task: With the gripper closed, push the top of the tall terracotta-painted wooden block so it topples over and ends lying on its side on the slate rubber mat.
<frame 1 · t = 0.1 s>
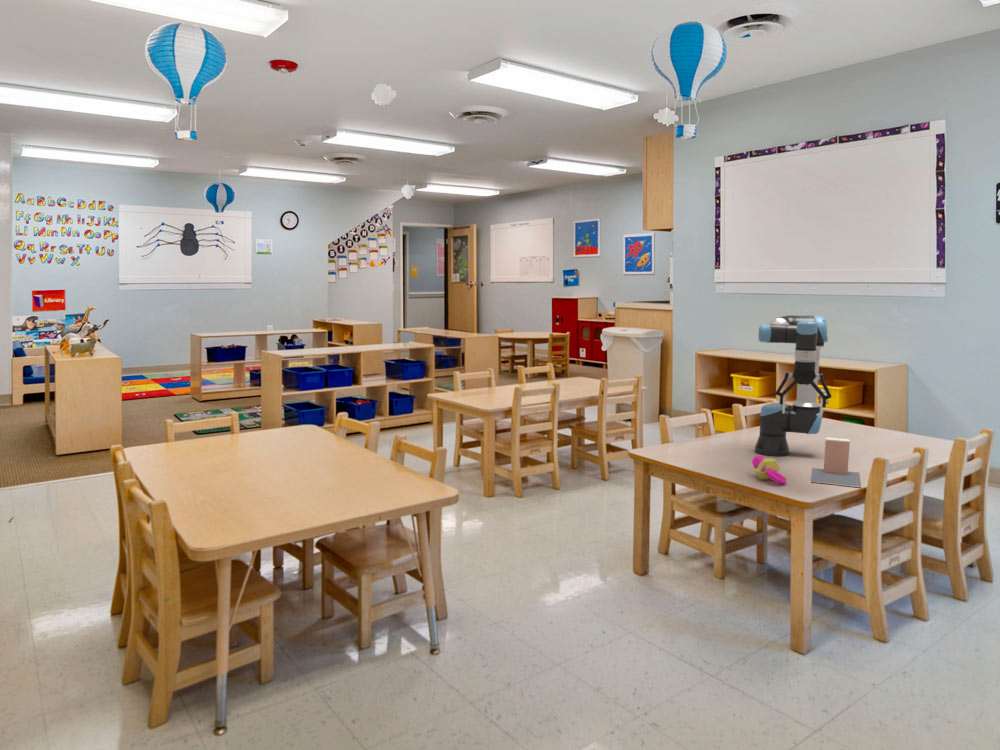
hand: (801, 414, 276), 28 cm above the table, fingers open, 13 cm apart
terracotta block: (835, 471, 293), point 1 cm above the table, touching slate mat
toy: (767, 480, 284), on the table
slate mat: (835, 478, 286), on the table
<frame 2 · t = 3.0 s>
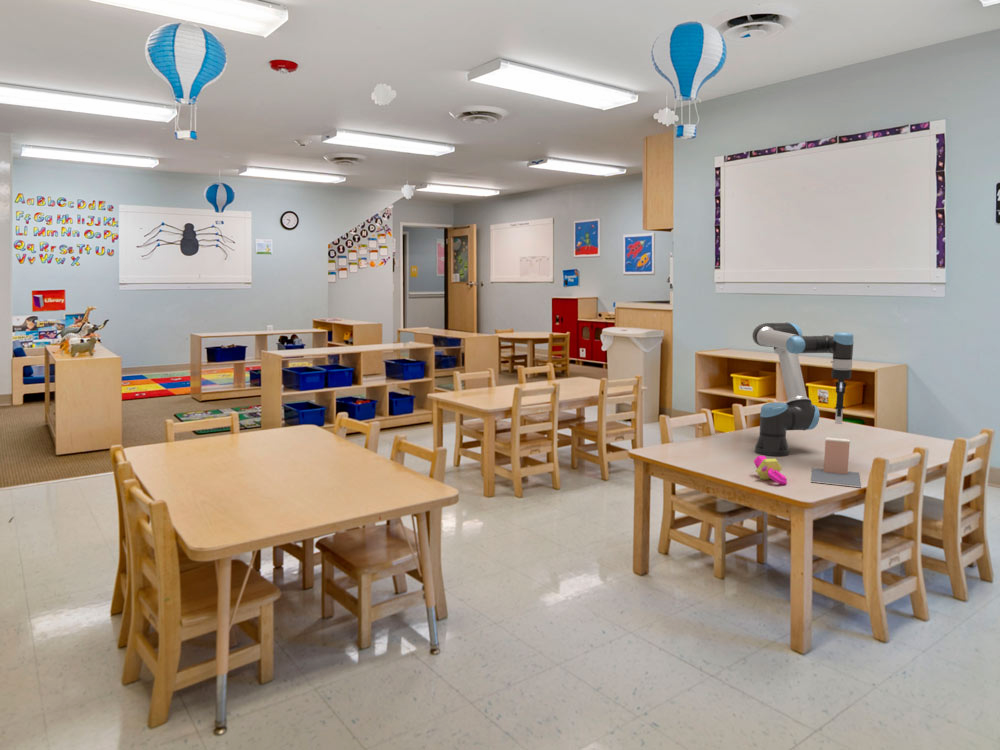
hand: (838, 423, 299), 20 cm above the table, fingers closed
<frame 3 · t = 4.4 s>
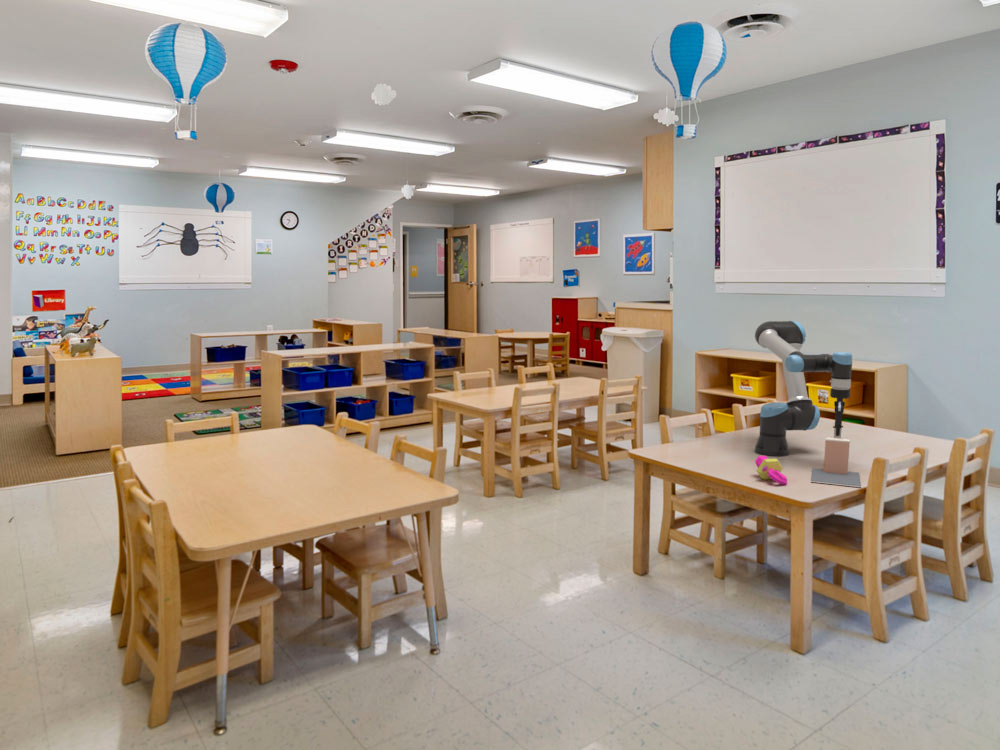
hand: (837, 442, 300), 11 cm above the table, fingers closed
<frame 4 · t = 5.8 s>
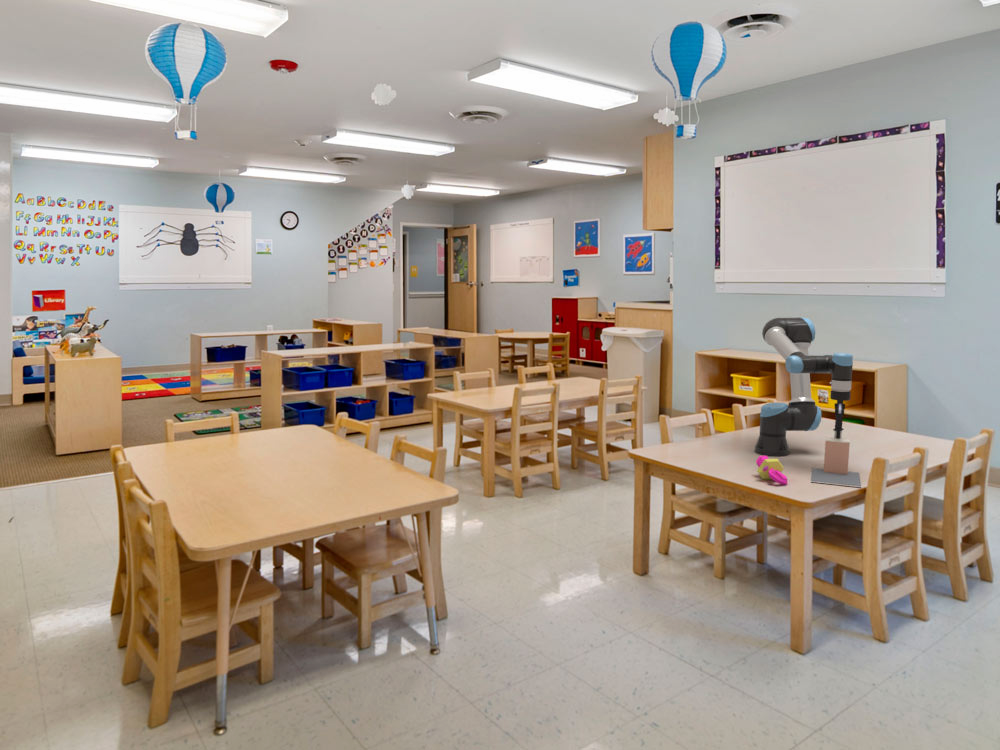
hand: (837, 445, 293), 12 cm above the table, fingers closed
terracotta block: (835, 471, 293), point 1 cm above the table, touching gripper, slate mat
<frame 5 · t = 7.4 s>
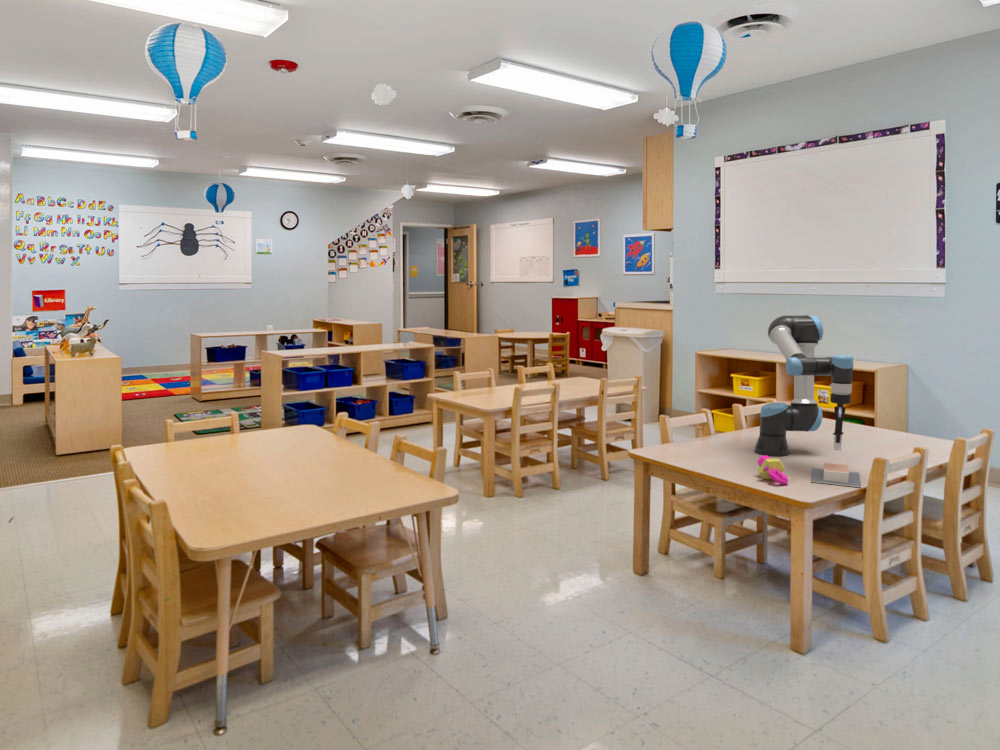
hand: (837, 449, 287), 11 cm above the table, fingers closed
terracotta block: (835, 468, 291), point 3 cm above the table, tilted 90°, touching slate mat
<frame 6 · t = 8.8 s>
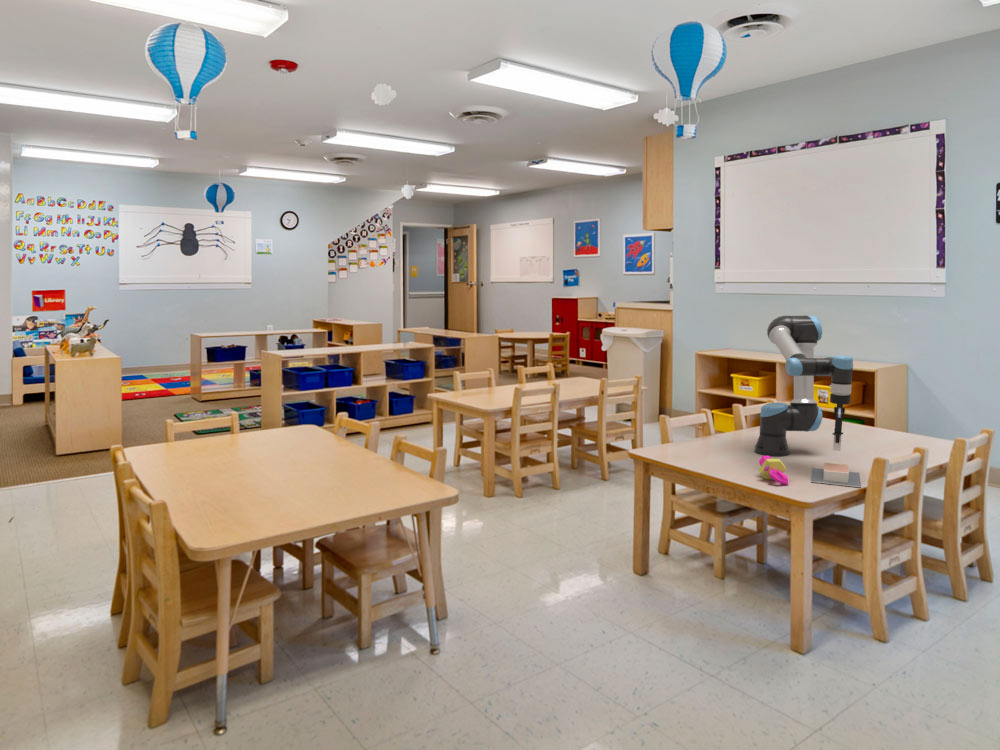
hand: (836, 450, 288), 11 cm above the table, fingers closed
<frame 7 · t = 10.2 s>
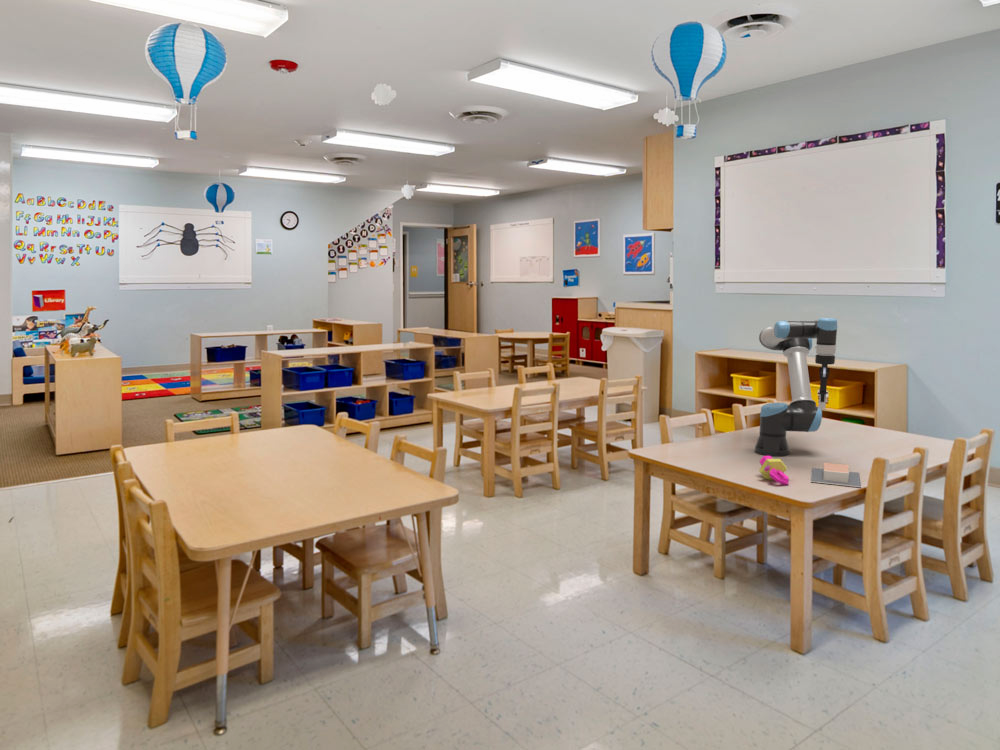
hand: (821, 408, 300), 26 cm above the table, fingers closed
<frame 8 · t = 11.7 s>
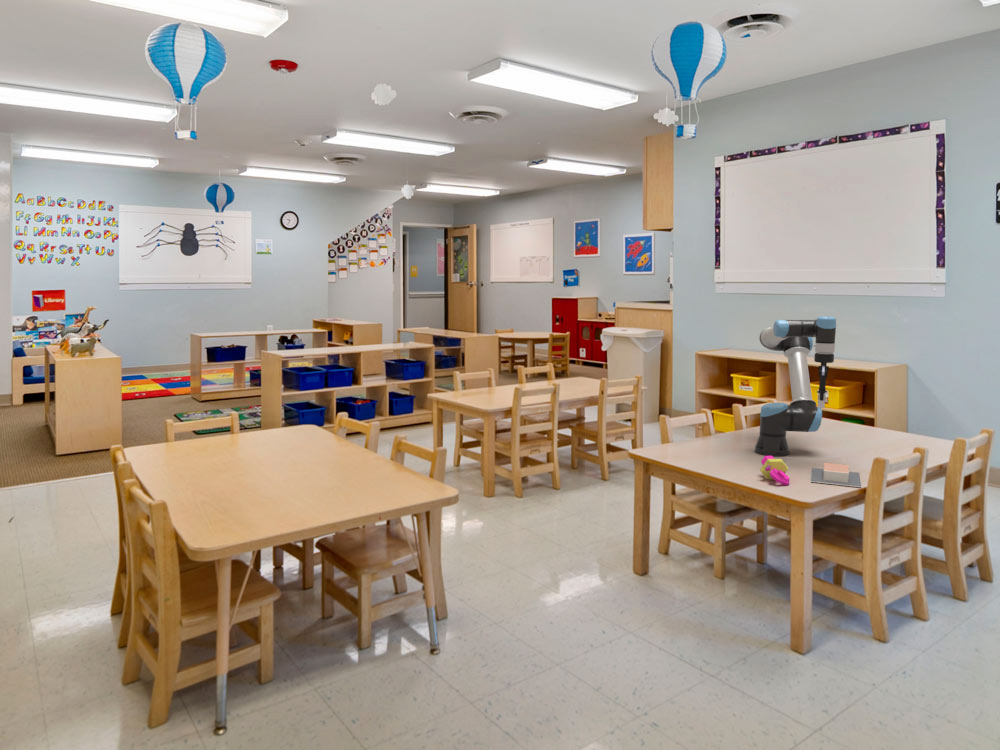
hand: (821, 407, 300), 26 cm above the table, fingers closed
at the end: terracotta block tilted 90°; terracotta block inside the target area (5.4 cm from its centre), point 2.8 cm above the table; the gripper is holding nothing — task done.
